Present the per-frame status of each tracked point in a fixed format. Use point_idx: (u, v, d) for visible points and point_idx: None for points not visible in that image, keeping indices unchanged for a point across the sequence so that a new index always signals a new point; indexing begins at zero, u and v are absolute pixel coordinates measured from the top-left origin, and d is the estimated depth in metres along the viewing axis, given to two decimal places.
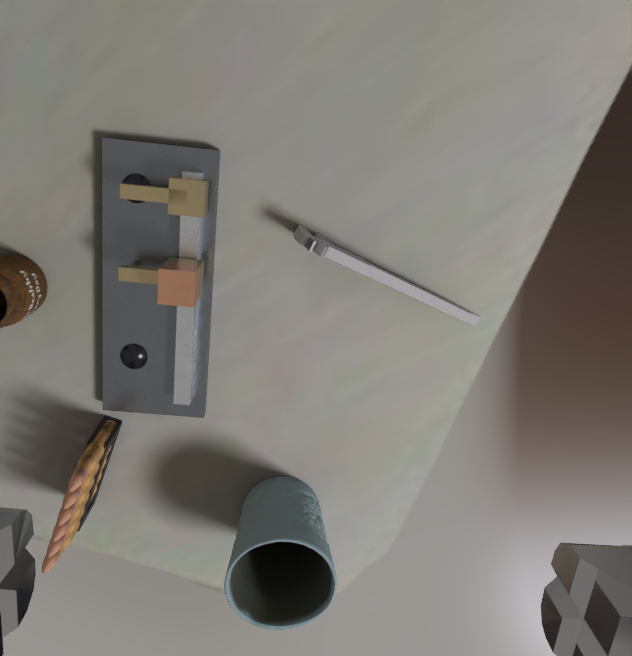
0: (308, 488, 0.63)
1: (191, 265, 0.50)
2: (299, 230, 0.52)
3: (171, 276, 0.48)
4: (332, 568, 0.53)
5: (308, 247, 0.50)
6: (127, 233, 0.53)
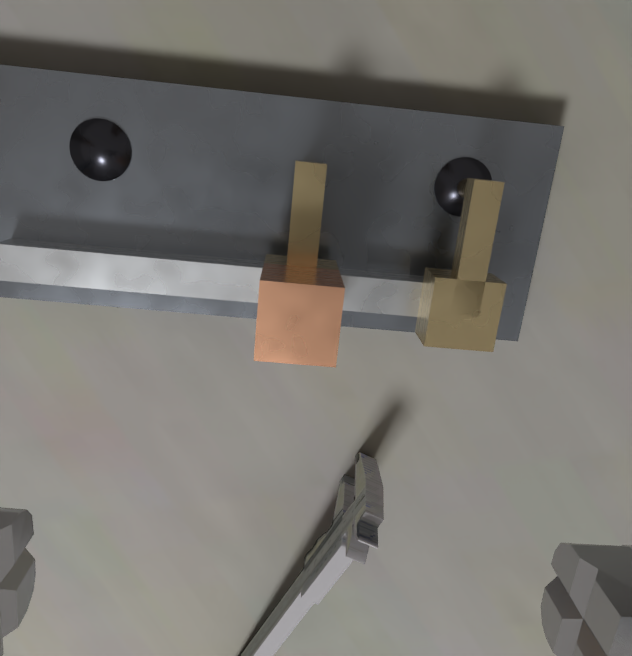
0: None
1: None
2: (381, 491, 0.29)
3: (326, 315, 0.21)
4: None
5: (362, 531, 0.27)
6: (375, 160, 0.26)
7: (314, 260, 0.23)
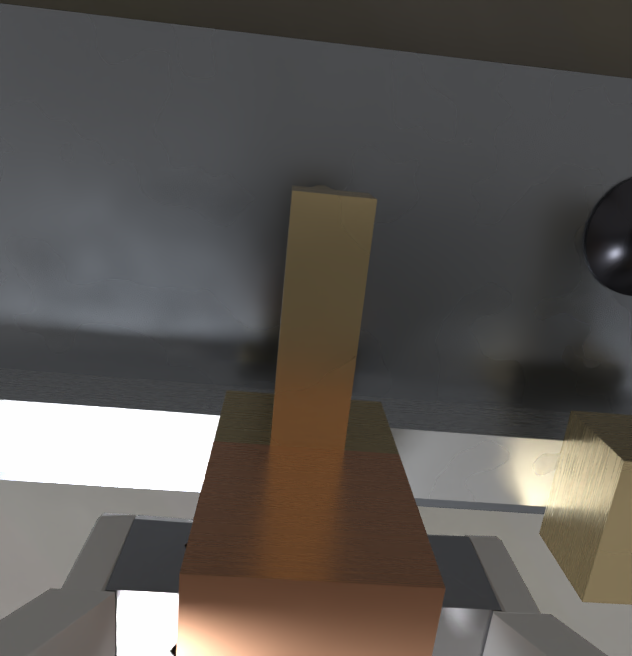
0: None
1: None
2: None
3: None
4: None
5: None
6: (463, 180, 0.12)
7: (339, 433, 0.09)
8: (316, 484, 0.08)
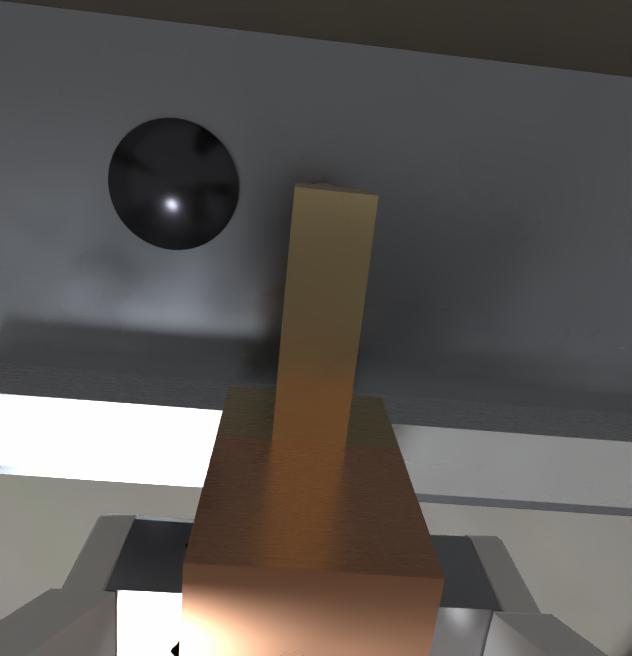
0: None
1: None
2: None
3: (385, 649, 0.07)
4: None
5: None
6: None
7: (340, 428, 0.09)
8: (317, 477, 0.09)
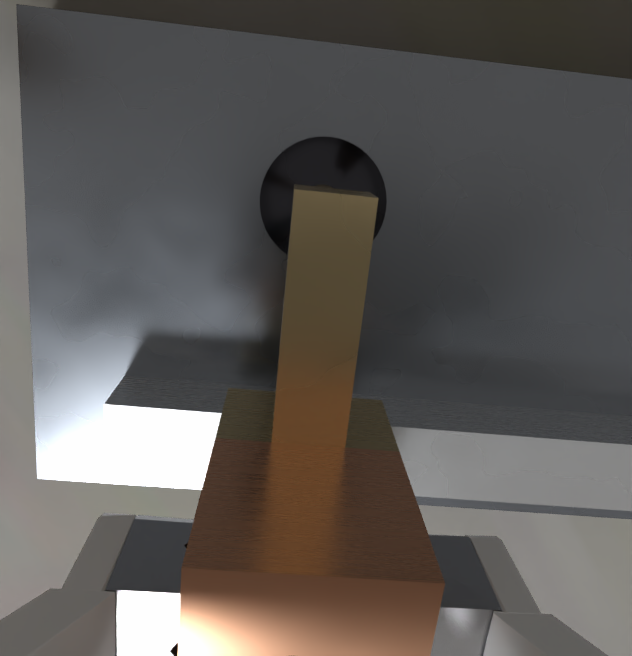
0: None
1: None
2: None
3: (384, 654, 0.07)
4: None
5: None
6: None
7: (340, 431, 0.09)
8: (317, 480, 0.08)
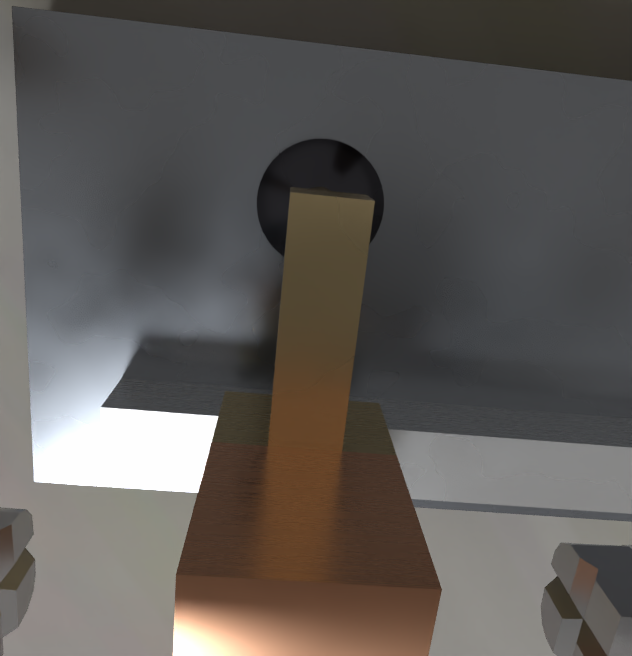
0: None
1: None
2: None
3: None
4: None
5: None
6: None
7: (337, 434, 0.09)
8: (313, 485, 0.08)
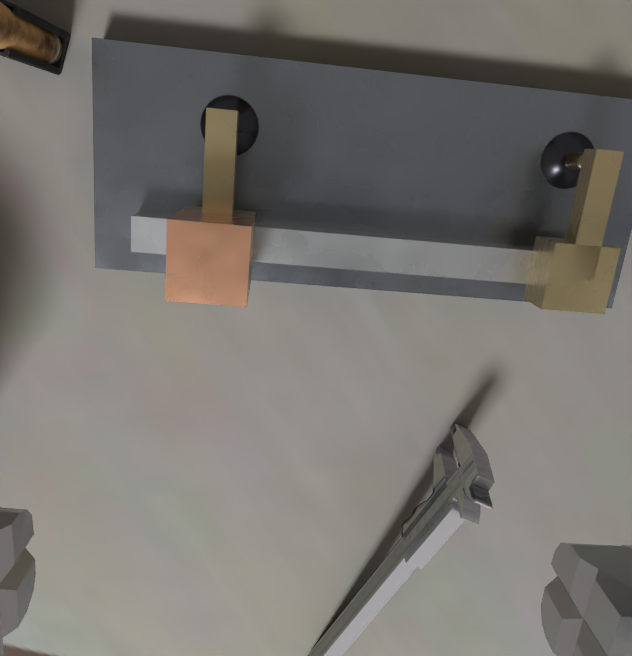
0: None
1: None
2: (486, 457, 0.30)
3: (234, 254, 0.21)
4: None
5: (476, 493, 0.28)
6: (487, 135, 0.27)
7: (229, 207, 0.24)
8: (217, 216, 0.23)
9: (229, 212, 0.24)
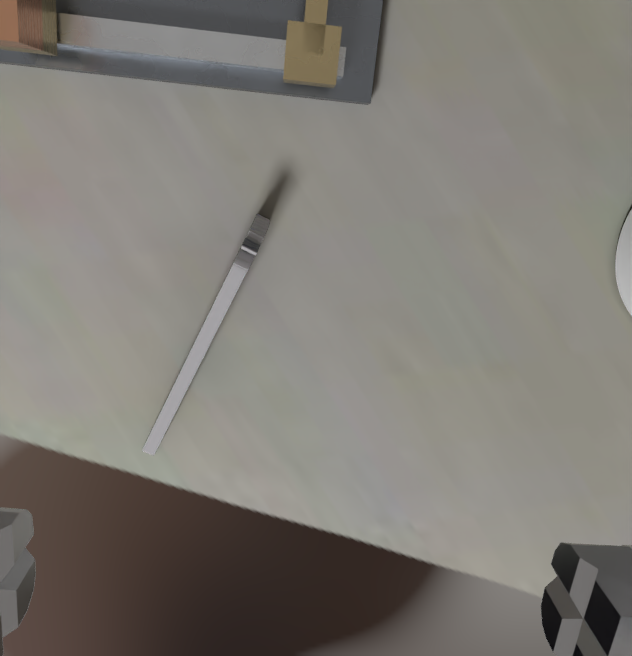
0: None
1: (37, 34, 0.31)
2: (266, 226, 0.37)
3: None
4: None
5: (246, 243, 0.35)
6: None
7: None
8: None
9: None
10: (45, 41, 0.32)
